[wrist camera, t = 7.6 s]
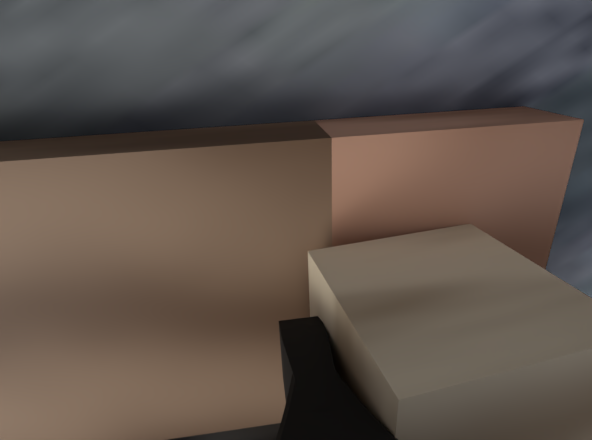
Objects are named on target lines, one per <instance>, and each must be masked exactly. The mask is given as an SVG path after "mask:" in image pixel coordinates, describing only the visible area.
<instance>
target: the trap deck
mask: <svg viewBox="0 0 592 440" xmlns="http://www.w3.org/2000/svg"><path fill="white" fill-rule="evenodd" d="M583 122H584V120H583V119H579V118H574V117H570V116H565V115H561V114H556V113H551V112H547V111H542V110H538V109H533V108H529V107H524V106H522V107H507V108H492V109H477V110H462V111H447V112H432V113H417V114H402V115H387V116H372V117H357V118H343V119H328V120H313V121H298V122H283V123H268V124H253V125H238V126H223V127H208V128H193V129H178V130H163V131H149V132H134V133H119V134H104V135H89V136H74V137H59V138H44V139H29V140H14V141H0V440H276V437H277V433H278V430H279V427H280V423H281V420H282V416H283V413H284V409H285V405H286V399H285V390H284V382H283V372H282V359H281V346H280V333H279V321H281V320H289V319H297V318H306V317H310V301H309V273H308V251H311V250H317V249H323V248H329V247H335V246H341V245H347V244H352V243H358V242H364V241H370V240H376V239H382V238H388V237H394V236H400V235H406V234H412V233H417V232H423V231H429V230H435V229H441V228H447V227H453V226H459V225H465V224H472V225H474V226H475V227H477V228H479V229H480V230H482V231H483V232H485V233H487V234H488V235H490V236H492V237H493V238H495V239H496V240H498V241H500V242H501V243H503V244H504V245H506V246H508V247H509V248H511V249H513V250H514V251H516V252H517V253H519V254H521V255H522V256H524V257H526V258H527V259H529V260H530V261H532V262H534V263H535V264H537V265H539V266H540V267H542V268H543V269H546V265H547V261H548V257H549V253H550V249H551V245H552V242H553V238H554V234H555V230H556V226H557V222H558V218H559V215H560V211H561V207H562V203H563V199H564V195H565V191H566V187H567V184H568V180H569V176H570V172H571V168H572V164H573V160H574V157H575V153H576V149H577V145H578V141H579V137H580V133H581V130H582V126H583Z"/></svg>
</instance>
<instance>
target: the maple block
mask: <svg viewBox="0 0 592 440" xmlns="http://www.w3.org/2000/svg"><path fill="white" fill-rule="evenodd" d="M308 273H309V301H310V317H314V316H318V317H319V318H320V319H321V321H322V322H323V323H324V326H325V328H326V331H327V333H328V338H329V342H330V347H331V352H332V357H333V361H334V366H335V370H336V371H337V373H338V374H339V375H340V377H341V378H342V379H343V380H344V382H345V383H346V384H347V385H348V387H349V388H350V389H351V390H352V391H353V393H354V394H355V395H356V396H357V397H358V398H359V400H360V401H361V402H362V403H363V404H364V405H365V406H366V408H367V409H368V410H369V411H370V412H371V413H372V414H373V415H374V416H375V417H376V418H377V419H378V420H379V421H380V422H381V423H382V424H383V425H384V426H385V428H386V429H387V430H388V431H389V432H391V433H392V434H393V436H394V437H395V438H397V439H398V440H592V298H590V297H589V296H587V295H586V294H584V293H582V292H581V291H579V290H577V289H576V288H574V287H573V286H571V285H569V284H568V283H566V282H564V281H563V280H561V279H560V278H558V277H556V276H555V275H553V274H551V273H550V272H548V271H547V270H545V269H543V268H542V267H540V266H539V265H537V264H535V263H534V262H532V261H530V260H529V259H527V258H526V257H524V256H522V255H521V254H519V253H517V252H516V251H514V250H513V249H511V248H509V247H508V246H506V245H504V244H503V243H501V242H500V241H498V240H496V239H495V238H493V237H492V236H490V235H488V234H487V233H485V232H483V231H482V230H480V229H479V228H477V227H475V226H474V225H472V224H465V225H459V226H453V227H447V228H441V229H435V230H429V231H423V232H417V233H412V234H406V235H400V236H394V237H388V238H382V239H376V240H370V241H364V242H358V243H352V244H347V245H341V246H335V247H329V248H323V249H317V250H311V251H308Z"/></svg>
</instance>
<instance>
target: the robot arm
mask: <svg viewBox="0 0 592 440" xmlns="http://www.w3.org/2000/svg"><path fill="white" fill-rule="evenodd" d="M279 333H280V346H281V359H282V372H283V382H284V390H285V399H286V405H285V409H284V413H283V416H282V420H281V423H280V427H279V430H278V433H277V437H276V440H398V439H397V438H395V437H394V436H393V434H392V433H391V432H389V431H388V430H387V429H386V428H385V426H384V425H383V424H382V423H381V422H380V421H379V420H378V419H377V418H376V417H375V416H374V415H373V414H372V413H371V412H370V411H369V410H368V409H367V408H366V406H365V405H364V404H363V403H362V402H361V401H360V400H359V398H358V397H357V396H356V395H355V394H354V393H353V391H352V390H351V389H350V388H349V387H348V385H347V384H346V383H345V382H344V380H343V379H342V378H341V377H340V375H339V374H338V373H337V371H336V370H335V366H334V361H333V357H332V352H331V347H330V342H329V338H328V333H327V331H326V328H325V326H324V323H323V322H322V321H321V319H320V318H319V317H318V316H314V317H306V318H297V319H289V320H281V321H279Z"/></svg>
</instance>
